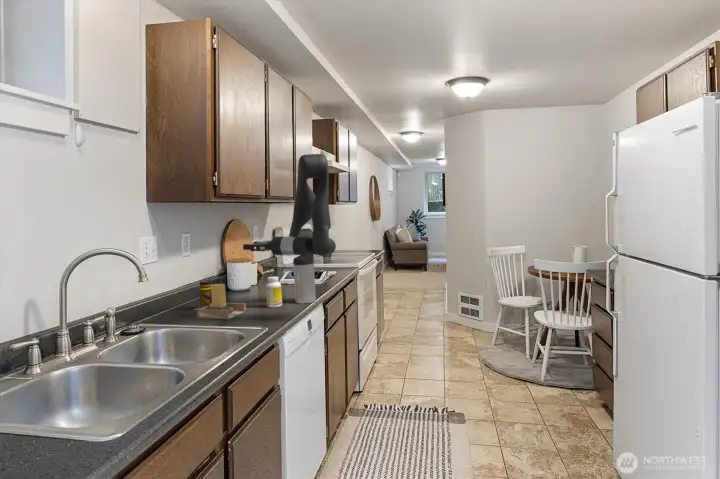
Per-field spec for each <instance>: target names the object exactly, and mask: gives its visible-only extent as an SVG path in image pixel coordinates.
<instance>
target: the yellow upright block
mask: <svg viewBox="0 0 720 479" xmlns="http://www.w3.org/2000/svg"><path fill="white" fill-rule="evenodd" d="M211 293H212V309H213V310H224V309H226V303H227V293H226V284H225V283H215V284H212V285H211Z"/></svg>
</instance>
